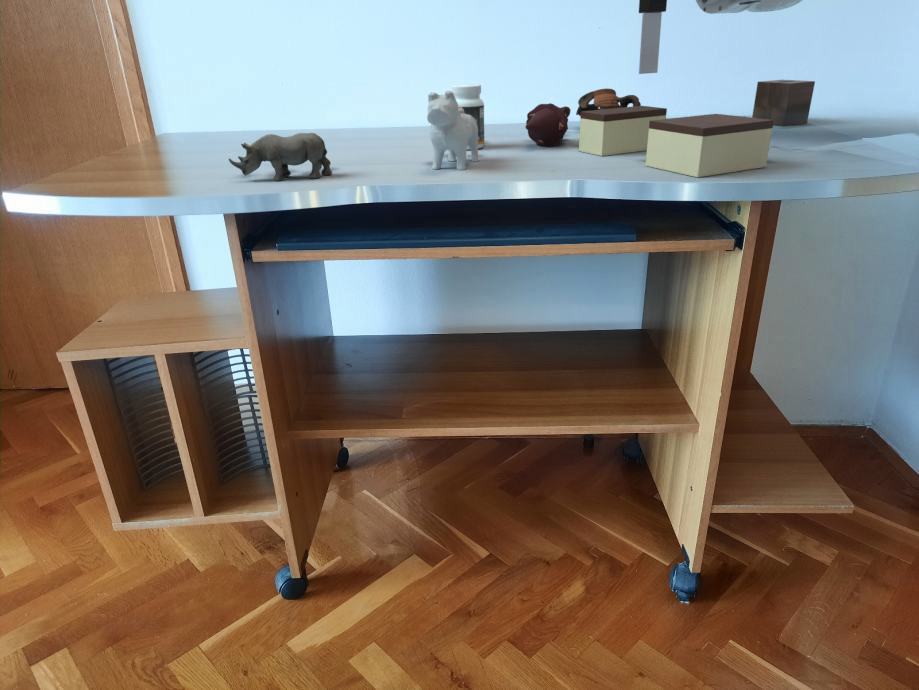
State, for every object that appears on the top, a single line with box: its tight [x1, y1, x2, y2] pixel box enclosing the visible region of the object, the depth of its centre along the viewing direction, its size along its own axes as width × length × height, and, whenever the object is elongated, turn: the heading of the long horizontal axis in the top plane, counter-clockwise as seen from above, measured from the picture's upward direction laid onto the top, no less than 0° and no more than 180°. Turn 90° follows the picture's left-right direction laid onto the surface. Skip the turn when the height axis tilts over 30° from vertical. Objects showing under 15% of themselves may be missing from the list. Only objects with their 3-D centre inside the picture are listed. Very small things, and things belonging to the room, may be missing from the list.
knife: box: [638, 0, 668, 75], centre depth 91 cm, size 2×3×16 cm
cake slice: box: [578, 105, 668, 157], centre depth 101 cm, size 6×12×6 cm, turn 116°
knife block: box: [751, 79, 816, 128], centre depth 115 cm, size 7×6×8 cm
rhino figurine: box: [228, 132, 333, 182], centre depth 89 cm, size 4×14×6 cm, turn 98°
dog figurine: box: [426, 90, 479, 171], centre depth 92 cm, size 5×13×11 cm, turn 163°
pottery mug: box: [575, 88, 642, 117], centre depth 123 cm, size 12×10×8 cm
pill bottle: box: [452, 83, 485, 151], centre depth 107 cm, size 6×6×10 cm
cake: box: [645, 113, 774, 178], centre depth 86 cm, size 10×12×6 cm
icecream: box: [525, 102, 571, 147], centre depth 107 cm, size 7×7×15 cm
